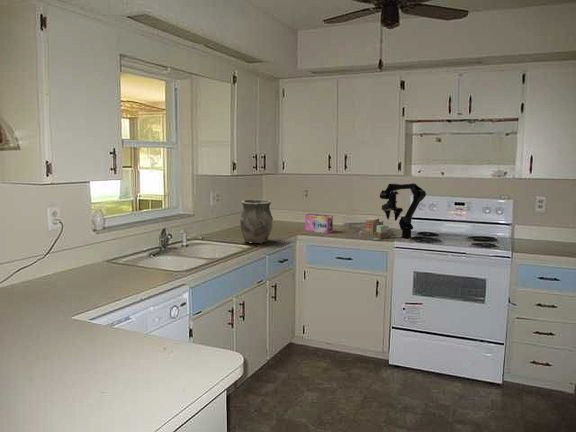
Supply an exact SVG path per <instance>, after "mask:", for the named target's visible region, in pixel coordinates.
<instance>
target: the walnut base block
mask: <svg viewBox="0 0 576 432" xmlns="http://www.w3.org/2000/svg"><path fill="white" fill-rule="evenodd" d="M389 236H390V235H389V233H388V232H386V233H379V232H374V235H373V238H380V239H390V238H389Z"/></svg>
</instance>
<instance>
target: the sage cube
mask: <svg viewBox="0 0 576 432" xmlns="http://www.w3.org/2000/svg"><path fill="white" fill-rule="evenodd" d="M386 228H387V226H386V225H384V224H383V225H377V231H376V232H379V233H386Z"/></svg>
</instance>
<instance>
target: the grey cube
mask: <svg viewBox="0 0 576 432" xmlns="http://www.w3.org/2000/svg"><path fill="white" fill-rule="evenodd" d="M386 232H388V233H389V236H392V228H388V227H386Z"/></svg>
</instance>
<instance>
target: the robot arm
mask: <svg viewBox="0 0 576 432" xmlns="http://www.w3.org/2000/svg"><path fill="white" fill-rule="evenodd" d="M400 190H410V191H411V193H412V200H411V201H412V202H411V203H410V206H409V207H408V209H407V210H406V214H405V215H404V216H401V217H400V215H401V213H403V211H404V209H403V208H402V207H398V206H397V204H398V201H397V195H399V193H400V192H398V191H400ZM426 196H427V193H426V191H425V190H423V188H422V187H420V186H419V185H418V184H416V183H414V182H413V183H406V184H401V183H389V184H388V185H387V187H386V188H385V189H384V190H381V192H380V193H379V198H380V199H382V200H386V201H387V202H386V203H385V204H382V205H381V210H382V212H384V213H385V216H386V220H389V219H390V216H391V212H392V211H393V212H392V213H393V214H394V221H395V222H396V221H397V220H398V219H399V217H400V219H399V222H398V225H399V228H400V230H401V236H400V238H401V239H405V238H406V239H413V237H412V230H413V229H414V225H413V224H412V217H413V216H414V213H415V212H416V211H417V208H418V206H419V204H420V203H421V202H422V201H423V200H424V199H425V197H426Z"/></svg>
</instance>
